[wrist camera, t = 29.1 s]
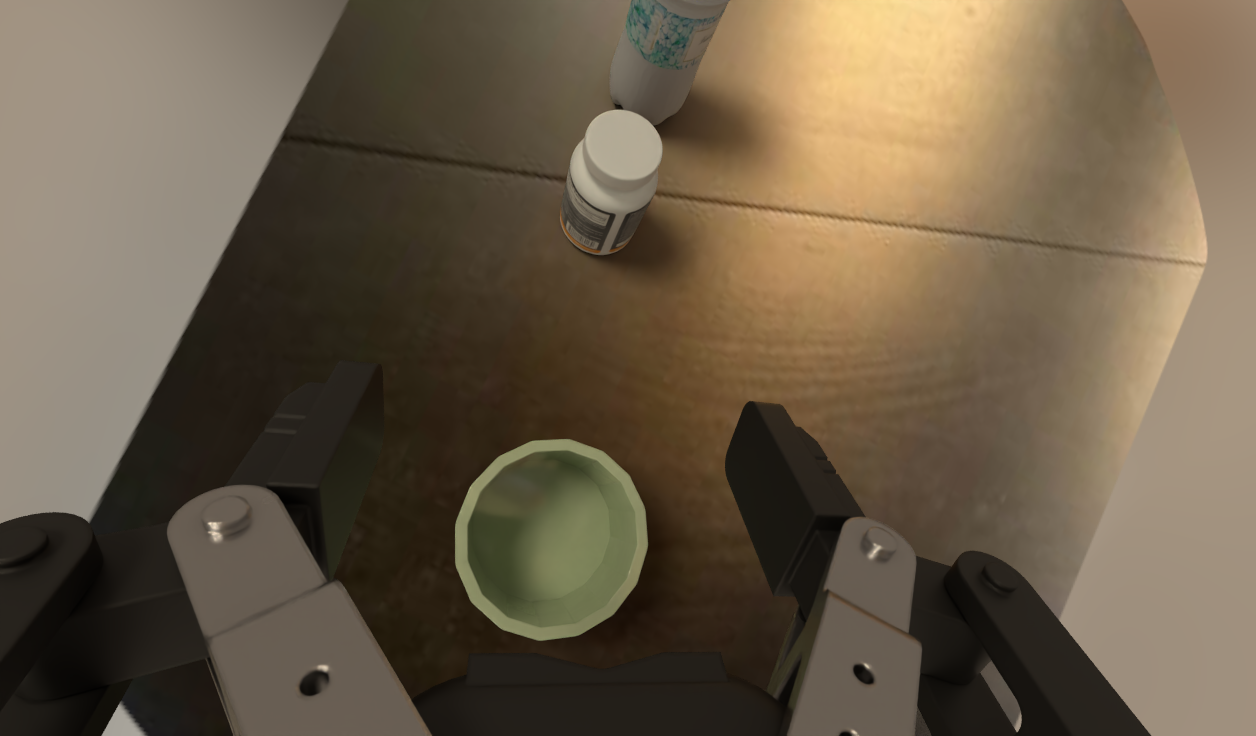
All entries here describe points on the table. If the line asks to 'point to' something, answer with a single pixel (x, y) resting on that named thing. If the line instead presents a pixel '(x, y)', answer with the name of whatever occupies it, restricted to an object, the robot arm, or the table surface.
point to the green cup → (551, 539)
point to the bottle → (661, 54)
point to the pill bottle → (610, 181)
